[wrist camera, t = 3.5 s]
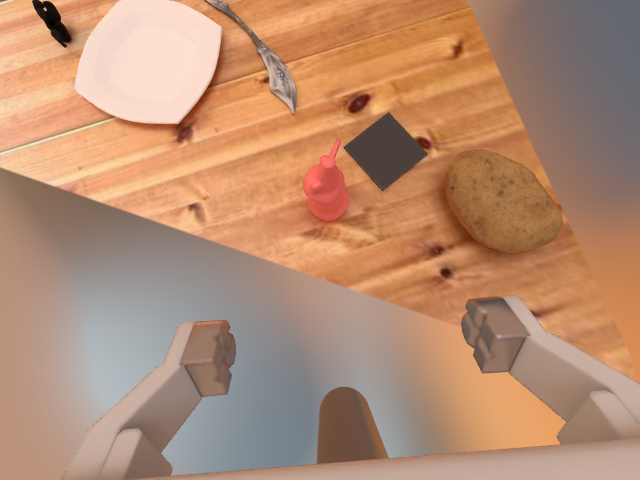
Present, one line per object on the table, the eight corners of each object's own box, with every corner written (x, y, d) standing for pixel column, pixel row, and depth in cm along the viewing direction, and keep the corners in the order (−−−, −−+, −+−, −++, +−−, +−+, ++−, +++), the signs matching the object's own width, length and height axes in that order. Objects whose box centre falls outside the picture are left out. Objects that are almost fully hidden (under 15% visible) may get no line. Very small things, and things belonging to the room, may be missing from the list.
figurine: (315, 183, 42) (310, 123, 27) (351, 194, 42) (366, 140, 27) (302, 218, 41) (289, 175, 27) (339, 230, 41) (347, 194, 26)
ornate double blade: (291, 117, 44) (319, 97, 44) (291, 114, 43) (319, 94, 44) (166, -32, 48) (192, -48, 49) (164, -36, 48) (191, -53, 48)
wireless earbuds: (51, 21, 47) (19, -11, 42) (67, 13, 47) (36, -19, 43) (71, 56, 46) (40, 27, 41) (86, 48, 46) (57, 18, 41)
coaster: (382, 191, 42) (382, 190, 41) (343, 147, 43) (343, 146, 43) (426, 155, 43) (427, 153, 42) (387, 113, 44) (388, 112, 43)
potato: (465, 149, 43) (497, 117, 35) (544, 224, 41) (597, 207, 33) (414, 196, 42) (434, 173, 34) (493, 275, 40) (534, 270, 32)
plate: (67, 105, 45) (55, 96, 43) (125, -4, 48) (116, -17, 46) (190, 146, 43) (183, 139, 41) (241, 30, 46) (237, 19, 44)
